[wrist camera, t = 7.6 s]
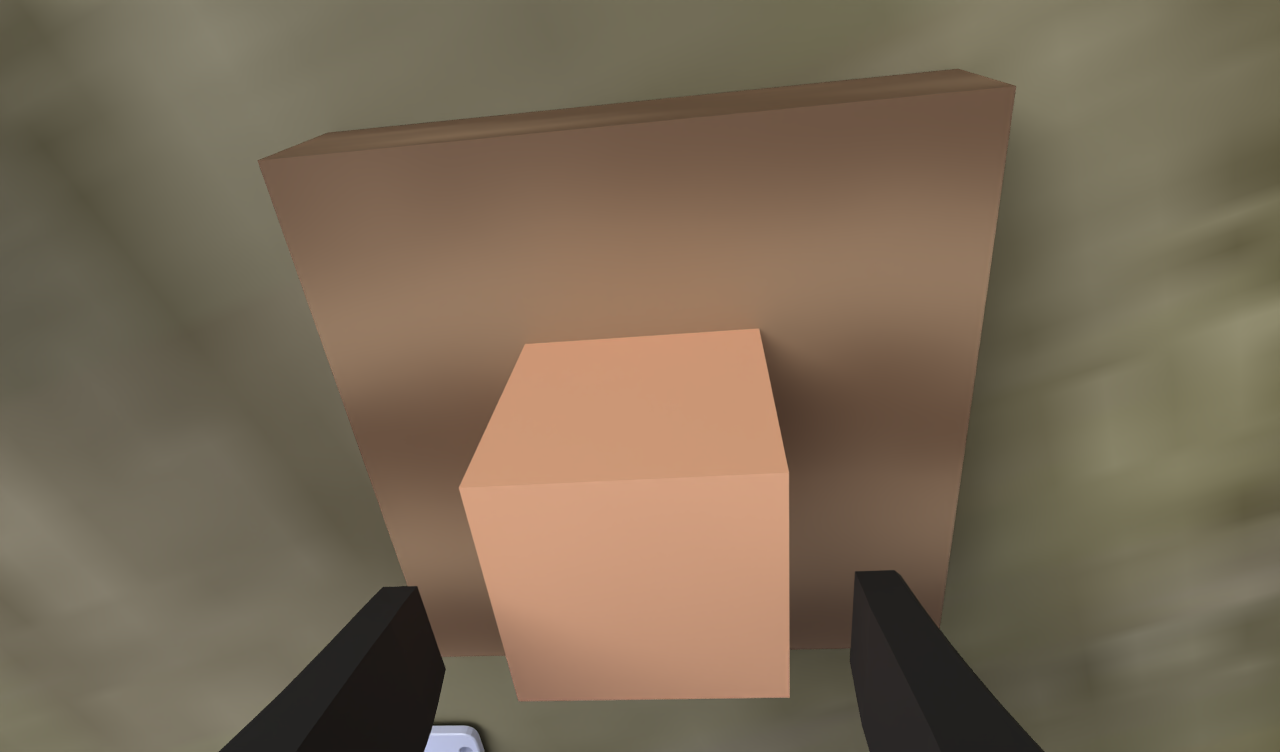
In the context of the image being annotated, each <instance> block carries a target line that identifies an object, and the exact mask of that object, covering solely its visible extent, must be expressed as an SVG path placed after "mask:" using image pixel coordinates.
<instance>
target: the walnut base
mask: <svg viewBox="0 0 1280 752" xmlns="http://www.w3.org/2000/svg"><path fill="white" fill-rule="evenodd" d="M1015 90H1016V86H1014V85H1011V84H1007V83H1004V82H1001V81H997V80H994V79H990V78H987V77H984V76H980V75H977V74H974V73H970V72H967V71H964V70H960V69H952V70H942V71H932V72H922V73H912V74H903V75H893V76H883V77H873V78H863V79H853V80H843V81H834V82H824V83H814V84H804V85H794V86H784V87H774V88H765V89H755V90H745V91H735V92H725V93H715V94H705V95H696V96H686V97H676V98H666V99H656V100H646V101H636V102H627V103H617V104H607V105H597V106H587V107H577V108H567V109H558V110H548V111H538V112H528V113H518V114H508V115H498V116H489V117H479V118H469V119H459V120H449V121H439V122H429V123H420V124H410V125H400V126H390V127H380V128H370V129H360V130H351V131H341V132H331V133H326V134H323V135H321V136H318V137H316V138H313V139H311V140H308V141H306V142H303V143H301V144H298V145H296V146H293V147H291V148H288V149H286V150H283V151H280V152H278V153H275V154H273V155H270V156H268V157H265V158H263V159H260V160H258V163H259V166H260V169H261V172H262V175H263V177H264V180H265V183H266V186H267V189H268V192H269V194H270V197H271V200H272V203H273V206H274V209H275V211H276V214H277V217H278V220H279V223H280V226H281V228H282V231H283V234H284V237H285V240H286V243H287V245H288V248H289V251H290V254H291V257H292V260H293V262H294V265H295V268H296V271H297V274H298V277H299V279H300V282H301V285H302V288H303V291H304V294H305V296H306V299H307V302H308V305H309V308H310V311H311V313H312V316H313V319H314V322H315V325H316V328H317V330H318V333H319V336H320V339H321V342H322V345H323V347H324V350H325V353H326V356H327V359H328V362H329V364H330V367H331V370H332V373H333V376H334V379H335V381H336V384H337V387H338V390H339V393H340V396H341V398H342V401H343V404H344V407H345V410H346V413H347V415H348V418H349V421H350V424H351V427H352V430H353V433H354V435H355V438H356V441H357V444H358V447H359V450H360V452H361V455H362V458H363V461H364V464H365V467H366V469H367V472H368V475H369V478H370V481H371V484H372V486H373V489H374V492H375V495H376V498H377V501H378V503H379V506H380V509H381V512H382V515H383V518H384V520H385V523H386V526H387V529H388V532H389V535H390V537H391V540H392V543H393V546H394V549H395V552H396V554H397V557H398V560H399V563H400V566H401V569H402V571H403V574H404V577H405V580H406V583H407V586H417V587H418V590H419V592H420V595H421V598H422V601H423V604H424V607H425V610H426V613H427V616H428V619H429V622H430V625H431V628H432V631H433V633H434V636H435V639H436V642H437V645H438V648H439V651H440V654H441V657H458V656H506V655H505V651H504V647H503V644H502V640H501V637H500V633H499V630H498V626H497V623H496V619H495V615H494V612H493V608H492V605H491V601H490V598H489V594H488V590H487V587H486V583H485V580H484V576H483V573H482V569H481V565H480V562H479V558H478V555H477V551H476V548H475V544H474V541H473V537H472V533H471V530H470V526H469V523H468V519H467V516H466V512H465V508H464V505H463V501H462V498H461V494H460V491H459V486H460V484H461V482H462V480H463V477H464V475H465V473H466V471H467V469H468V467H469V464H470V462H471V460H472V458H473V456H474V454H475V451H476V449H477V447H478V445H479V443H480V441H481V438H482V436H483V434H484V432H485V430H486V428H487V425H488V423H489V421H490V419H491V417H492V415H493V412H494V410H495V408H496V406H497V404H498V401H499V399H500V397H501V395H502V393H503V391H504V388H505V386H506V384H507V382H508V380H509V378H510V375H511V373H512V371H513V369H514V367H515V365H516V362H517V360H518V358H519V356H520V354H521V352H522V349H523V347H524V345H525V344H534V343H549V342H564V341H579V340H594V339H609V338H624V337H639V336H654V335H669V334H684V333H698V332H713V331H728V330H743V329H758V328H759V330H760V335H761V340H762V345H763V349H764V354H765V359H766V364H767V369H768V374H769V378H770V383H771V388H772V393H773V398H774V403H775V407H776V412H777V417H778V422H779V427H780V431H781V436H782V441H783V446H784V451H785V456H786V460H787V465H788V470H789V650H794V649H842V648H851V632H852V614H853V596H854V578H855V571H880V570H895V571H896V572H898V573H899V574H900V575H901V576H902V578H903V579H904V581H905V582H906V583H907V585H908V586H909V588H910V589H911V591H912V592H913V594H914V595H915V596H916V598H917V599H918V601H919V602H920V603H921V605H922V606H923V608H924V609H925V610H926V612H927V613H928V614H929V616H930V617H931V618H932V620H933V621H934V622H935V624H936V625H937V626H938V628H939V629H940V623H941V615H942V608H943V601H944V594H945V587H946V580H947V573H948V566H949V559H950V552H951V544H952V537H953V530H954V523H955V516H956V509H957V502H958V495H959V488H960V481H961V473H962V466H963V459H964V452H965V445H966V438H967V431H968V424H969V417H970V410H971V402H972V395H973V388H974V381H975V374H976V367H977V360H978V353H979V346H980V339H981V331H982V324H983V317H984V310H985V303H986V296H987V289H988V282H989V275H990V268H991V260H992V253H993V246H994V239H995V232H996V225H997V218H998V211H999V204H1000V197H1001V189H1002V182H1003V175H1004V168H1005V161H1006V154H1007V147H1008V140H1009V133H1010V126H1011V119H1012V111H1013V104H1014V97H1015Z"/></svg>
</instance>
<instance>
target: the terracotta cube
mask: <svg viewBox="0 0 1280 752" xmlns="http://www.w3.org/2000/svg"><path fill="white" fill-rule="evenodd" d="M459 491H460V494H461V498H462V501H463V505H464V508H465V512H466V516H467V519H468V523H469V526H470V530H471V533H472V537H473V541H474V544H475V548H476V551H477V555H478V558H479V562H480V565H481V569H482V573H483V576H484V580H485V583H486V587H487V590H488V594H489V598H490V601H491V605H492V608H493V612H494V615H495V619H496V623H497V626H498V630H499V633H500V637H501V640H502V644H503V647H504V651H505V655H506V658H507V662H508V665H509V669H510V672H511V676H512V680H513V683H514V687H515V690H516V694H517V697H518V701H579V700H650V699H722V698H790V656H789V470H788V465H787V460H786V456H785V451H784V446H783V441H782V436H781V431H780V427H779V422H778V417H777V412H776V407H775V403H774V398H773V393H772V388H771V383H770V378H769V374H768V369H767V364H766V359H765V354H764V349H763V345H762V340H761V335H760V330H759V328H758V329H743V330H728V331H713V332H698V333H684V334H669V335H654V336H639V337H624V338H609V339H594V340H579V341H564V342H549V343H534V344H525V345H524V347H523V349H522V352H521V354H520V356H519V358H518V360H517V362H516V365H515V367H514V369H513V371H512V373H511V375H510V378H509V380H508V382H507V384H506V386H505V388H504V391H503V393H502V395H501V397H500V399H499V401H498V404H497V406H496V408H495V410H494V412H493V415H492V417H491V419H490V421H489V423H488V425H487V428H486V430H485V432H484V434H483V436H482V438H481V441H480V443H479V445H478V447H477V449H476V451H475V454H474V456H473V458H472V460H471V462H470V464H469V467H468V469H467V471H466V473H465V475H464V477H463V480H462V482H461V484H460V486H459Z"/></svg>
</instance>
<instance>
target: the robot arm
mask: <svg viewBox="0 0 1280 752" xmlns="http://www.w3.org/2000/svg"><path fill="white" fill-rule="evenodd" d="M850 664H851V669H852V675H853V680H854V686H855V691H856V697H857V702H858V707H859V712H860V717H861V722H862V727H863V730H864V734H865V737H866V741H867V744H868V747H869V751H870V752H1044V751H1043V750H1042V749H1041V748H1040V747H1039V745H1038V744H1037V743H1036V742H1035V741H1034V740H1033V739H1032V738H1031V737H1030V736H1029V735H1028V733H1027V732H1026V731H1025V730H1024V729H1023V728H1022V727H1021V726H1020V725H1019V724H1018V723H1017V721H1016V720H1015V719H1014V718H1013V717H1012V716H1011V715H1010V714H1009V713H1008V711H1007V710H1006V709H1005V708H1004V707H1003V706H1002V705H1001V704H1000V702H999V701H998V700H997V699H996V698H995V697H994V696H993V694H992V693H991V692H990V691H989V690H988V688H987V687H986V686H985V685H984V684H983V682H982V681H981V680H980V679H979V678H978V676H977V675H976V674H975V673H974V672H973V670H972V669H971V668H970V667H969V666H968V664H967V663H966V662H965V661H964V660H963V658H962V657H961V656H960V655H959V653H958V652H957V651H956V650H955V648H954V647H953V646H952V645H951V643H950V642H949V641H948V639H947V638H946V637H945V636H944V634H943V633H942V632H941V630H940V629H939V628H938V626H937V625H936V624H935V622H934V621H933V620H932V618H931V617H930V616H929V614H928V613H927V612H926V610H925V609H924V608H923V606H922V605H921V603H920V602H919V601H918V599H917V598H916V596H915V595H914V594H913V592H912V591H911V589H910V588H909V586H908V585H907V583H906V582H905V581H904V579H903V578H902V576H901V575H900V574H899V573H898V572H896V571H895V570H880V571H855V578H854V596H853V614H852V632H851V650H850ZM445 670H446V669H445V666H444V663H443V660H442V657H441V654H440V651H439V648H438V645H437V642H436V639H435V636H434V633H433V631H432V628H431V625H430V622H429V619H428V616H427V613H426V610H425V607H424V604H423V601H422V598H421V595H420V592H419V590H418V587H417V586H400V587H382V588H381V589H380V590H379V592H378V593H377V594H376V595H375V596H374V597H373V598H372V599H371V600H370V601H369V602H368V603H367V604H366V605H365V606H364V607H363V608H362V609H361V610H360V611H359V612H358V613H357V614H356V615H355V616H354V617H353V618H352V620H351V621H350V622H349V623H348V624H347V625H346V626H345V627H344V628H343V629H342V630H341V631H340V632H339V633H338V634H337V635H336V636H335V637H334V639H333V640H332V641H331V642H330V643H329V644H328V645H327V646H326V647H325V648H324V649H323V650H322V651H321V652H320V653H319V654H318V655H317V656H316V657H315V658H314V659H313V660H312V661H311V662H310V663H309V664H308V665H307V667H306V668H305V669H304V670H303V671H302V672H301V673H300V674H299V675H298V676H297V677H296V678H295V679H294V680H293V681H292V682H291V683H290V684H289V685H288V686H287V687H286V688H285V689H284V690H283V691H282V692H281V693H280V694H279V695H278V696H277V697H276V698H275V699H274V700H273V701H272V702H271V703H270V704H269V705H267V706H266V707H265V708H264V709H263V710H262V711H261V712H260V713H259V714H258V715H257V716H256V717H255V718H254V719H253V720H252V721H251V722H250V723H249V724H248V725H247V726H245V727H244V728H243V729H242V730H241V731H240V732H239V733H238V734H237V735H236V736H235V737H234V738H233V739H232V740H231V741H230V742H229V743H228V744H227V745H226V746H224V747H223V748H222V749H221V750H220V751H219V752H485V751H484V748H483V745H482V742H481V739H480V736H479V733H478V732H477V730H475V729H474V728H473V727H470V726H465V725H445V726H433V722H434V718H435V714H436V710H437V706H438V702H439V697H440V693H441V688H442V683H443V679H444V674H445Z"/></svg>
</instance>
